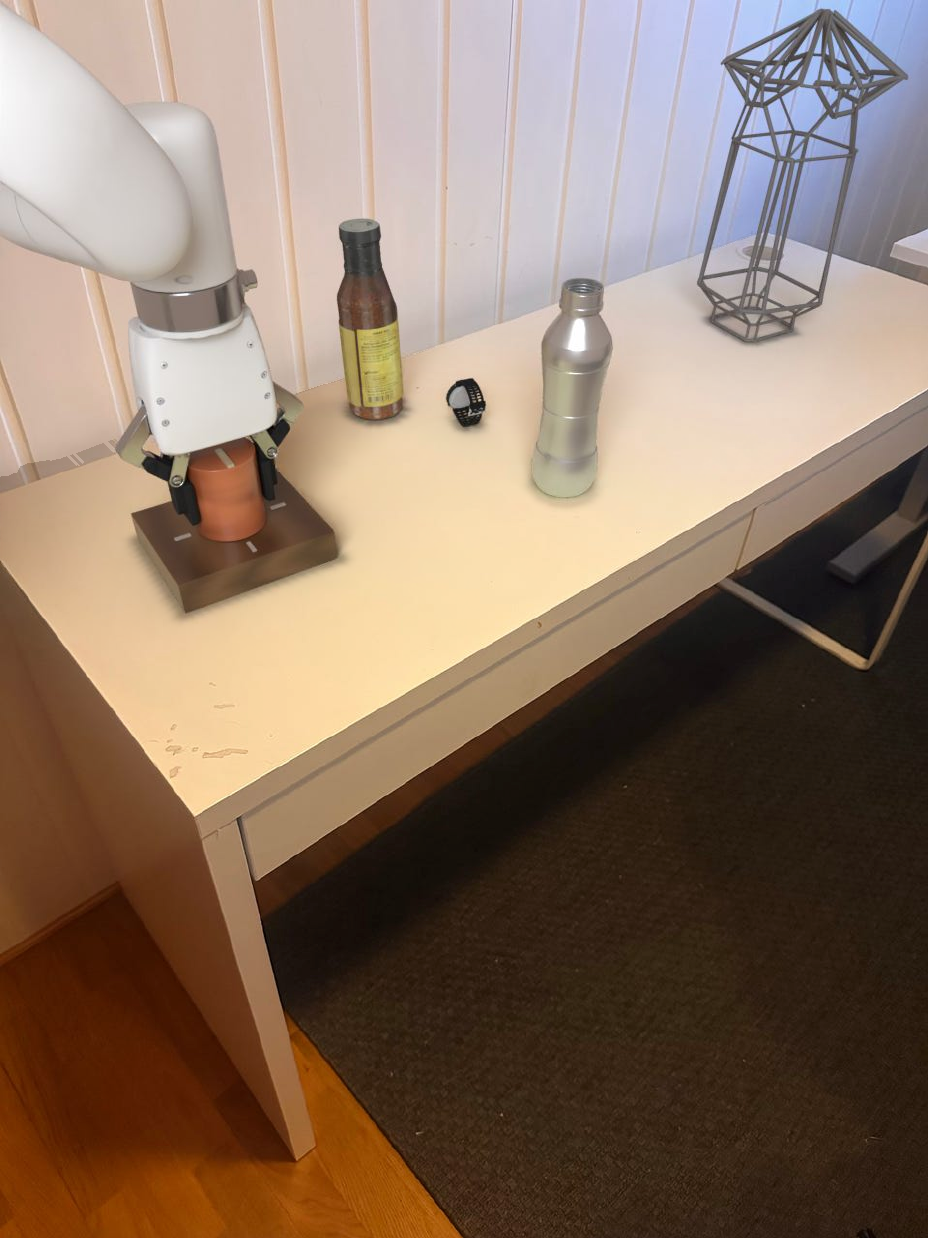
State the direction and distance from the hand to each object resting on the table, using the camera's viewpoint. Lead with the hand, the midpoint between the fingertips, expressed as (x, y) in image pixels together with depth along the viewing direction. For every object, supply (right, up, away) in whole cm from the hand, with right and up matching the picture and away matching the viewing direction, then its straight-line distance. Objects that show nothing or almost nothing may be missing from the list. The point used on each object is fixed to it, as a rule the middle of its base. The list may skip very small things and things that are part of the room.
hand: (228, 503), depth 77 cm
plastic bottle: (+30, +3, +12) cm, 33 cm away
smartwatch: (+20, +11, +21) cm, 31 cm away
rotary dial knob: (0, -1, +1) cm, 2 cm away
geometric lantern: (+59, +29, +42) cm, 78 cm away
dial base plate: (0, -4, +3) cm, 5 cm away
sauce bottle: (+10, +13, +23) cm, 29 cm away
